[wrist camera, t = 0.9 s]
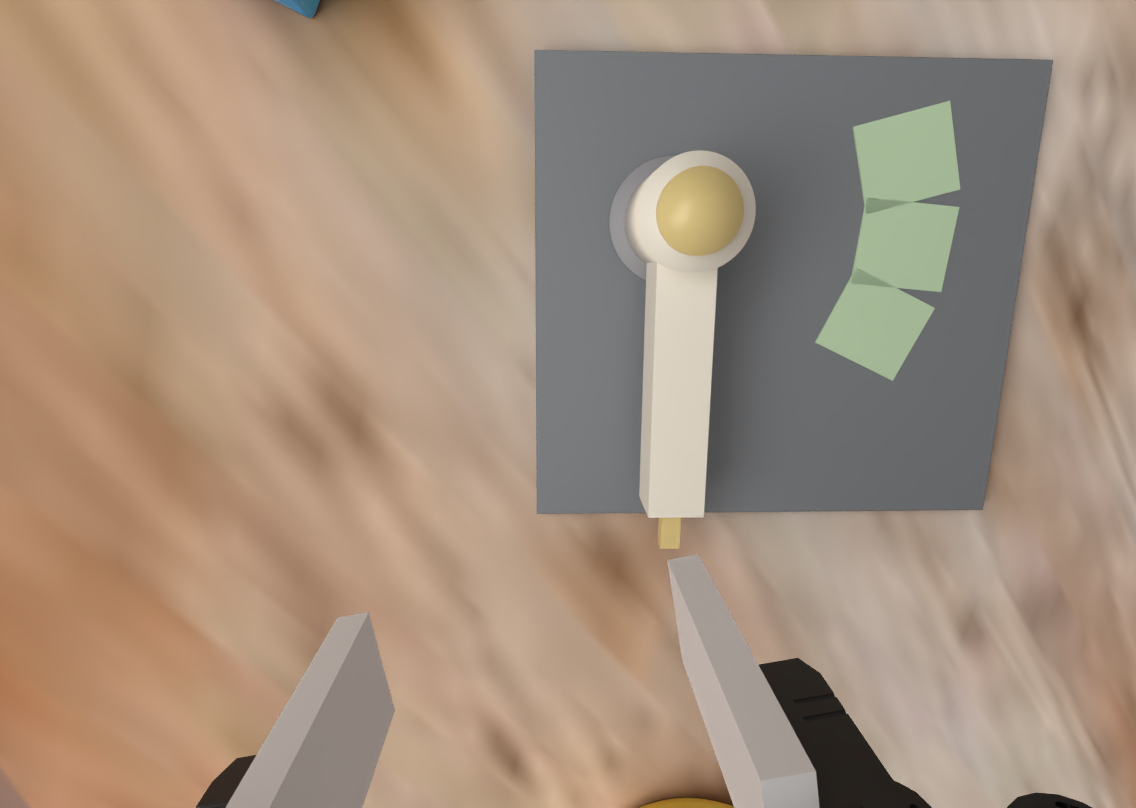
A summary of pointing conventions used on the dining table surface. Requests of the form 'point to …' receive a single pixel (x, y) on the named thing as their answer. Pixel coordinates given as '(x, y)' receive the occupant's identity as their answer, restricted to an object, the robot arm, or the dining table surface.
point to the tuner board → (790, 272)
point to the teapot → (686, 803)
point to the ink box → (301, 6)
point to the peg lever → (682, 320)
